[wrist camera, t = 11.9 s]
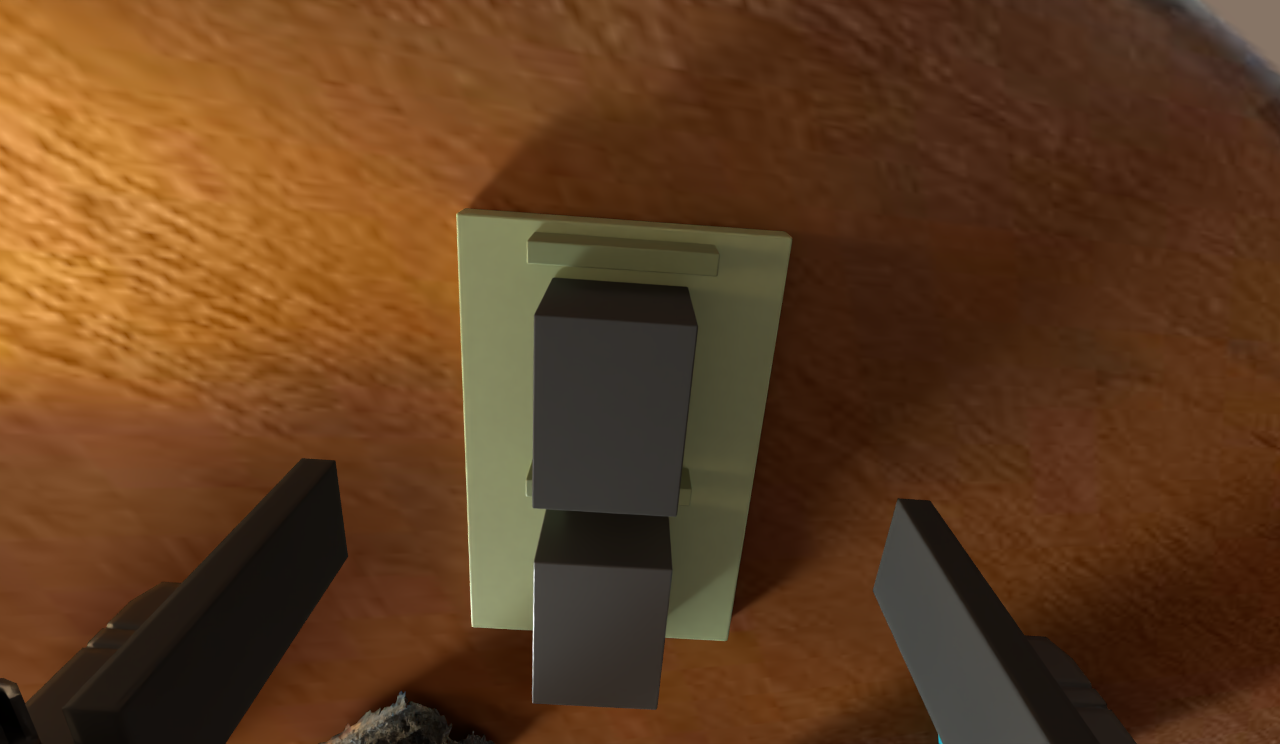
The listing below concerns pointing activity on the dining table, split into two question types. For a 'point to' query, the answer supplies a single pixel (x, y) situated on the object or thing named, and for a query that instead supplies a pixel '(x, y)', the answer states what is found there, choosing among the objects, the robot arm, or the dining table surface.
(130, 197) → the dining table surface
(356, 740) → the dark cylinder on base
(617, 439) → the dark grey block
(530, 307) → the dock
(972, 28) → the dining table surface
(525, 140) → the dining table surface
